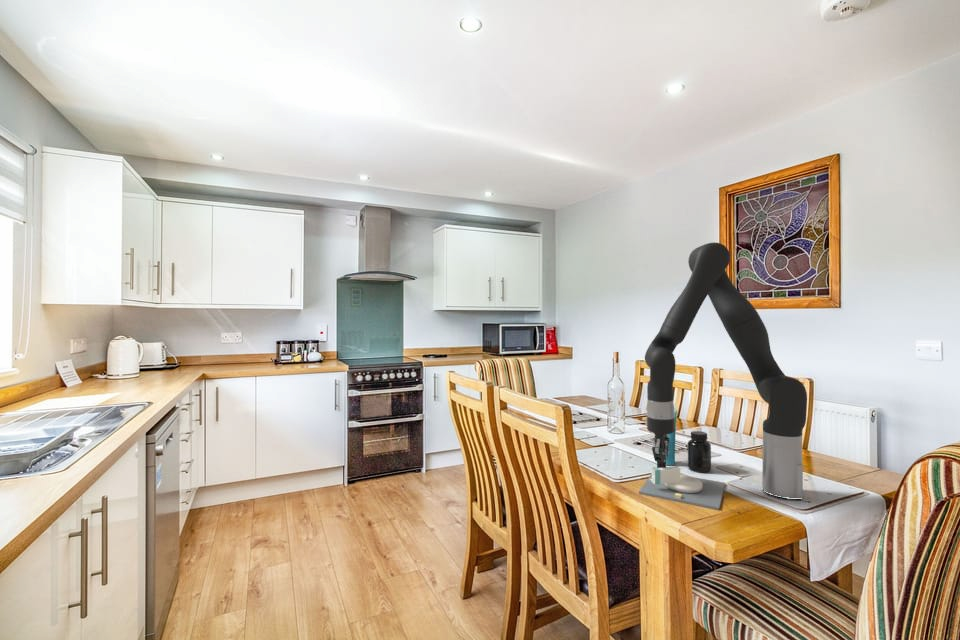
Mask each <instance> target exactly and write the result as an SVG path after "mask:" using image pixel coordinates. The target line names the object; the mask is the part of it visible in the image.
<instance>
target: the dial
mask: <svg viewBox="0 0 960 640" xmlns="http://www.w3.org/2000/svg"><path fill="white" fill-rule="evenodd" d="M651 474H652V483H653V484H655V485H657V484H665V486H666V487H668V488H670V489H672V490H675V491H679V492H684V493H697V492H700V491H702V482H701V481H700V480H698V479H696V478H697V477H696V478H694V476H690V475H685V474H681V468H680V467H678V466H666V467H665V468H657V467H651Z"/></svg>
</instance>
